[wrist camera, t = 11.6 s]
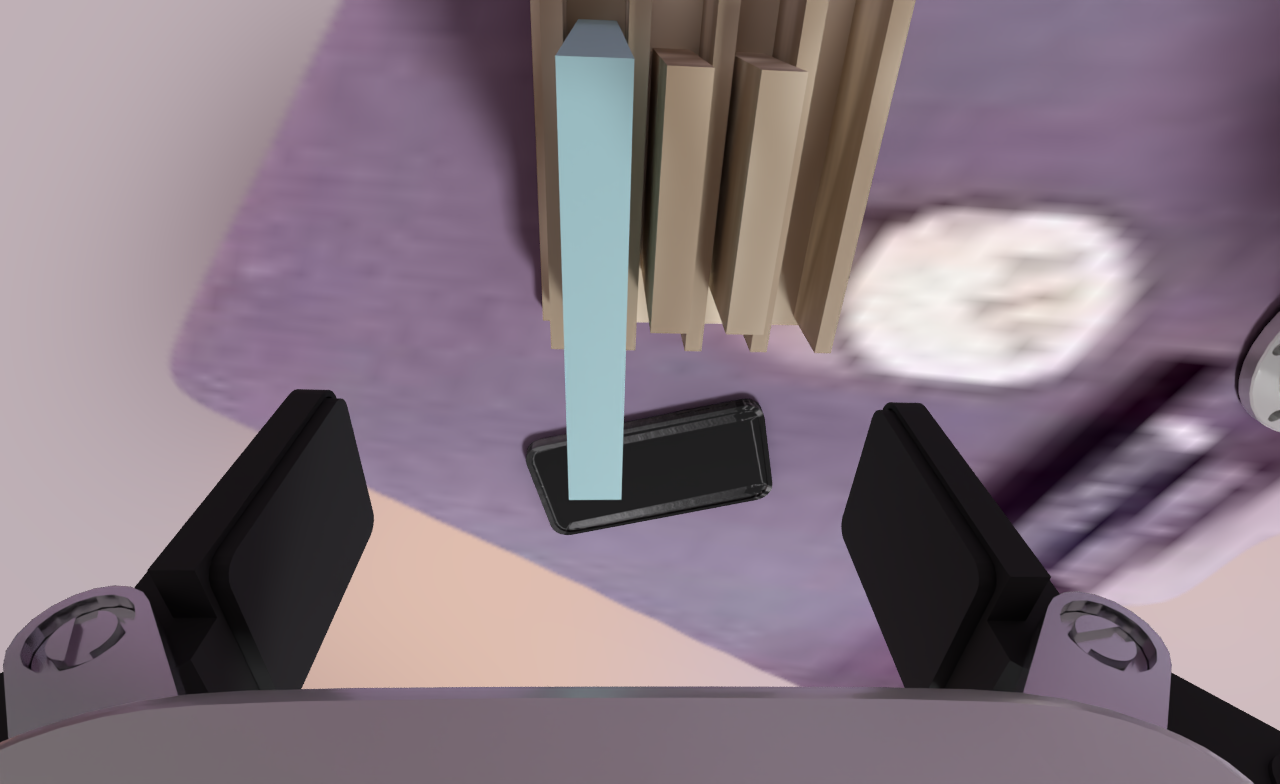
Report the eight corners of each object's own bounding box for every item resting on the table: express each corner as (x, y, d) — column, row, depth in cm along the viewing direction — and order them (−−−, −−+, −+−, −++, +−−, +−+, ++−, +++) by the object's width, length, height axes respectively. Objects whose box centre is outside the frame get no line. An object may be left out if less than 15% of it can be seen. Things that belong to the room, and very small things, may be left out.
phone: (773, 496, 42) (555, 538, 43) (770, 485, 43) (556, 526, 44) (762, 400, 38) (520, 449, 39) (758, 390, 39) (522, 438, 40)
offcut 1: (690, 49, 27) (715, 67, 21) (672, 270, 32) (688, 333, 26) (652, 47, 27) (667, 65, 21) (641, 269, 32) (650, 332, 26)
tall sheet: (616, 20, 26) (634, 58, 13) (612, 288, 33) (621, 499, 19) (578, 18, 26) (555, 55, 13) (581, 287, 33) (569, 499, 19)
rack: (885, -24, 27) (940, -25, 23) (812, 315, 36) (842, 362, 31) (531, -44, 26) (517, -50, 22) (544, 310, 35) (536, 357, 30)
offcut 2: (763, 53, 27) (808, 71, 21) (733, 271, 33) (763, 334, 27) (726, 51, 27) (761, 69, 21) (703, 270, 32) (726, 334, 27)
